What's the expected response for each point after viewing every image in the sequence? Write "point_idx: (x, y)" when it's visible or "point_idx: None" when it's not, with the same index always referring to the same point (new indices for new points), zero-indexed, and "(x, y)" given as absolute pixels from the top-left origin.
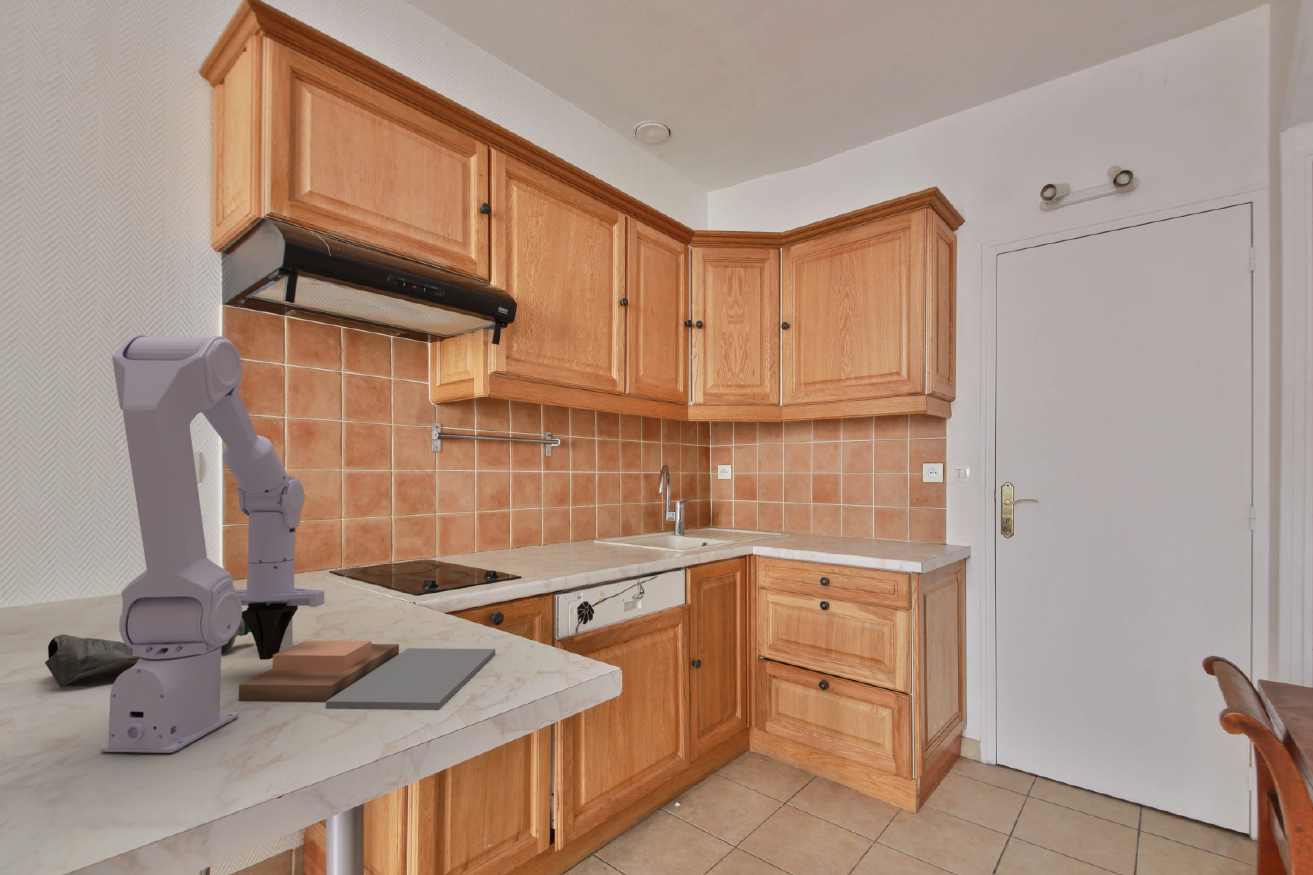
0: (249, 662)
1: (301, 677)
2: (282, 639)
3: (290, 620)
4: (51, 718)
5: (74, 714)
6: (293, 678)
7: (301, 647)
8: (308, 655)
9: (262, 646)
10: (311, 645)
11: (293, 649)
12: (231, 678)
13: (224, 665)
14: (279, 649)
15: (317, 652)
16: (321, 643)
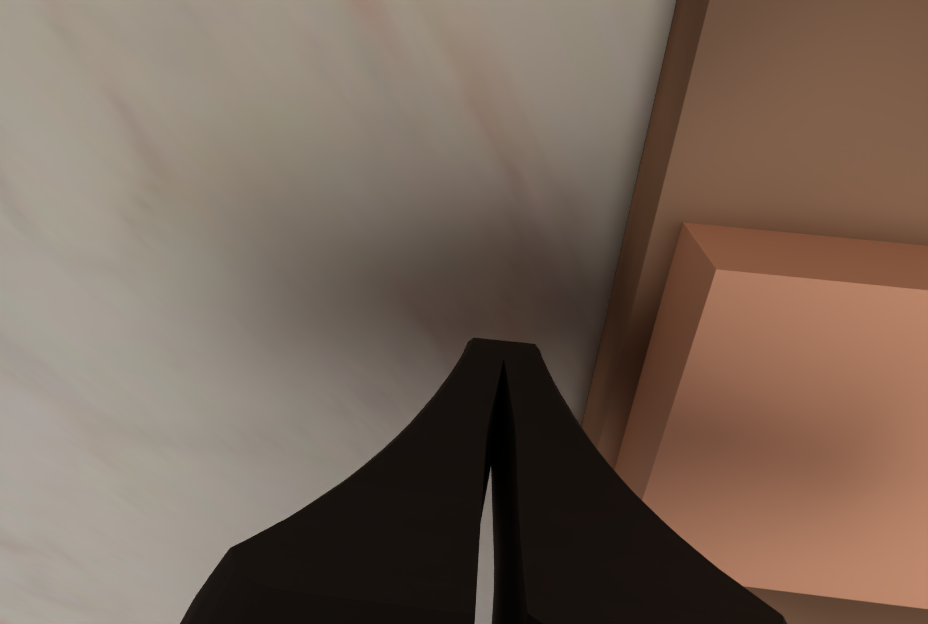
0: (168, 16)
1: (811, 598)
2: (564, 401)
3: (656, 516)
4: (59, 605)
5: (90, 591)
6: (774, 601)
7: (757, 455)
8: (862, 600)
9: (484, 499)
10: (825, 414)
11: (711, 488)
12: (317, 330)
13: (56, 84)
14: (544, 363)
15: (914, 562)
16: (904, 369)
